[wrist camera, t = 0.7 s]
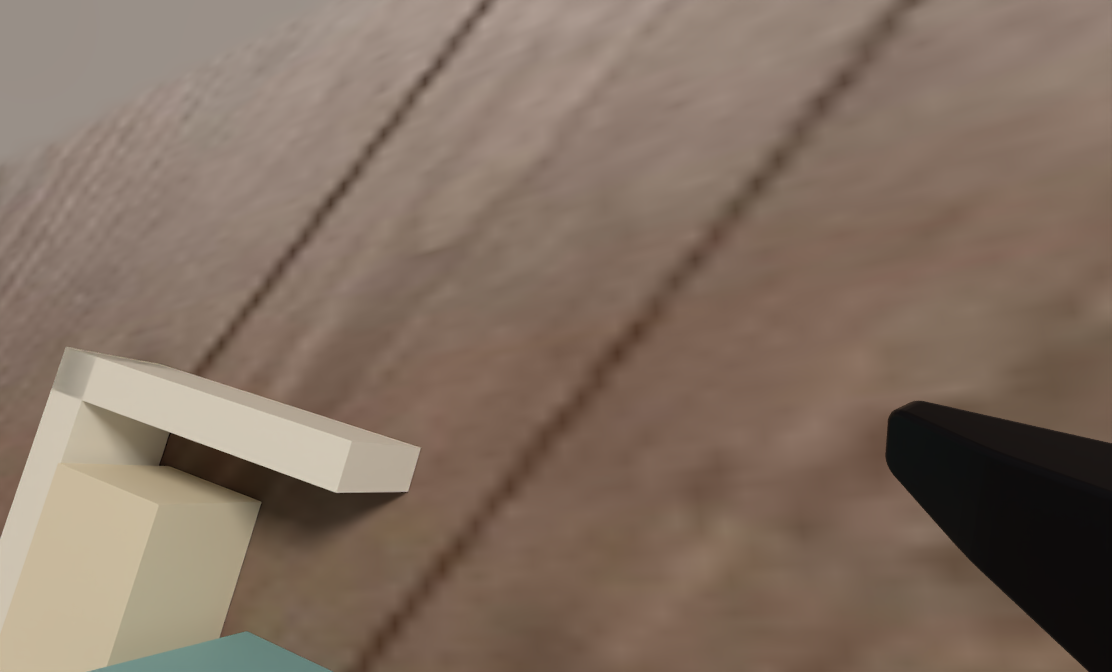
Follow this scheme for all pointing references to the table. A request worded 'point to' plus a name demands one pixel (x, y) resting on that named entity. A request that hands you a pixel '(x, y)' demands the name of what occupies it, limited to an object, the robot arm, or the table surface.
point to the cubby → (151, 509)
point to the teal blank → (221, 658)
